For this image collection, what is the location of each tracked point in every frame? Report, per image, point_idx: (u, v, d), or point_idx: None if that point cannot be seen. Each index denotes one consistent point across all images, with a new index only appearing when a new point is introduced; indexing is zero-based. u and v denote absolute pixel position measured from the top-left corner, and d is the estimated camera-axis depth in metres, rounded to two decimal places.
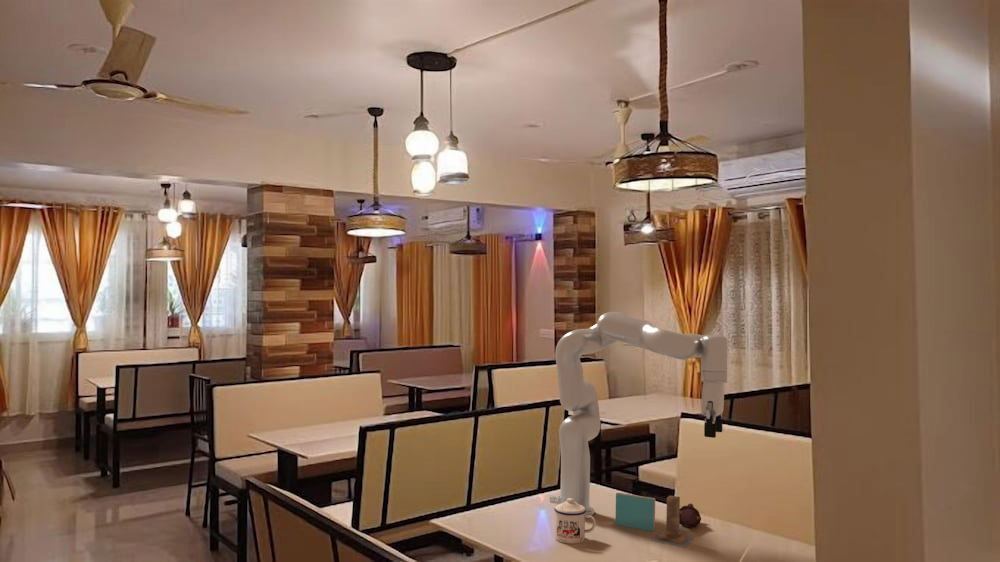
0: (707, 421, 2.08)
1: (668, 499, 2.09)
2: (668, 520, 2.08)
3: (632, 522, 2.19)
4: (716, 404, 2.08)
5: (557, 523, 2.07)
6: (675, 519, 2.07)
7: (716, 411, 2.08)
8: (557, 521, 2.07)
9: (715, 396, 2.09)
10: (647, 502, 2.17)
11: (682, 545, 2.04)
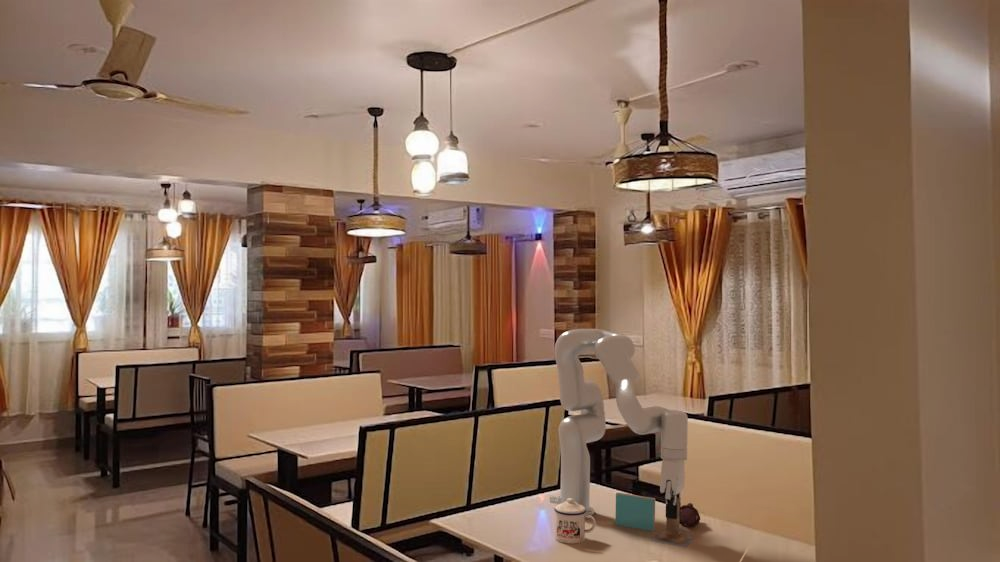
0: (668, 503, 2.06)
1: None
2: (668, 520, 2.08)
3: (632, 522, 2.19)
4: (675, 483, 2.04)
5: (557, 523, 2.07)
6: (675, 519, 2.07)
7: (675, 490, 2.04)
8: (557, 521, 2.07)
9: (674, 475, 2.05)
10: (647, 502, 2.17)
11: (682, 545, 2.04)
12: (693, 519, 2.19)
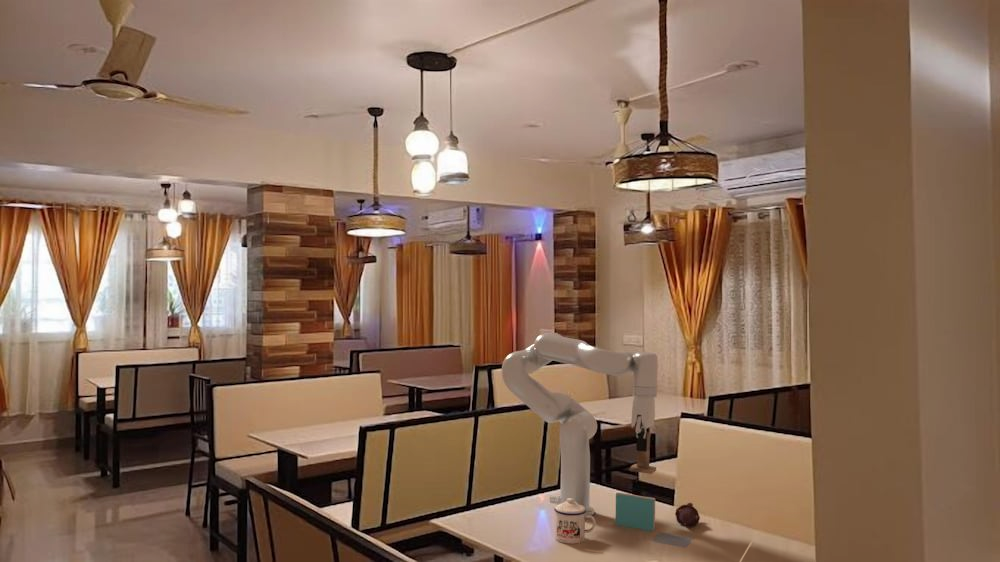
0: (638, 436, 2.24)
1: None
2: (639, 452, 2.26)
3: (632, 522, 2.19)
4: (644, 418, 2.22)
5: (557, 523, 2.07)
6: None
7: (644, 424, 2.22)
8: (557, 521, 2.07)
9: (644, 410, 2.22)
10: (647, 502, 2.17)
11: (682, 545, 2.04)
12: (692, 519, 2.20)
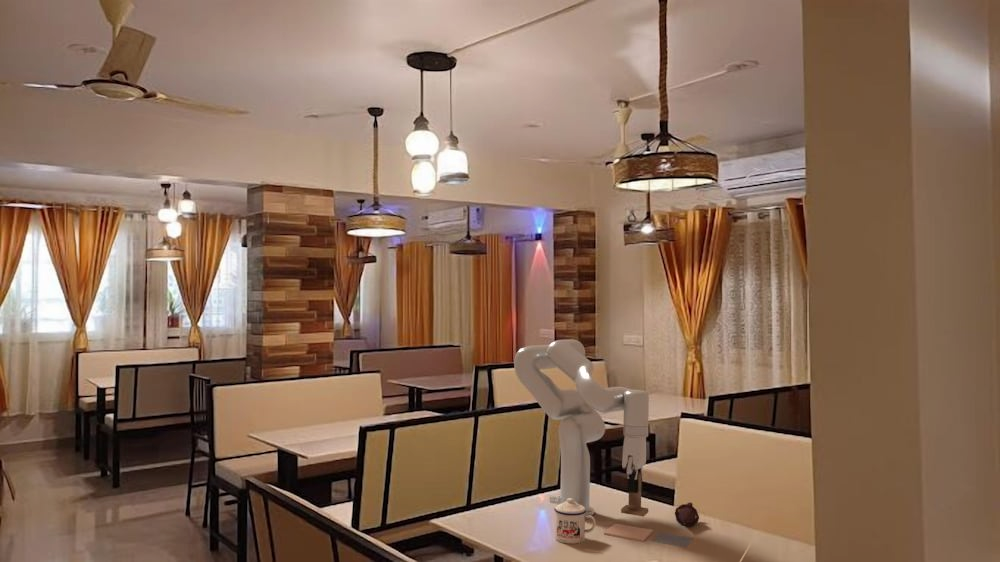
0: (630, 477, 2.17)
1: None
2: (630, 494, 2.19)
3: None
4: (636, 458, 2.15)
5: (557, 523, 2.07)
6: (637, 493, 2.18)
7: (636, 465, 2.15)
8: (557, 521, 2.07)
9: (635, 451, 2.15)
10: None
11: (682, 545, 2.04)
12: (692, 518, 2.20)
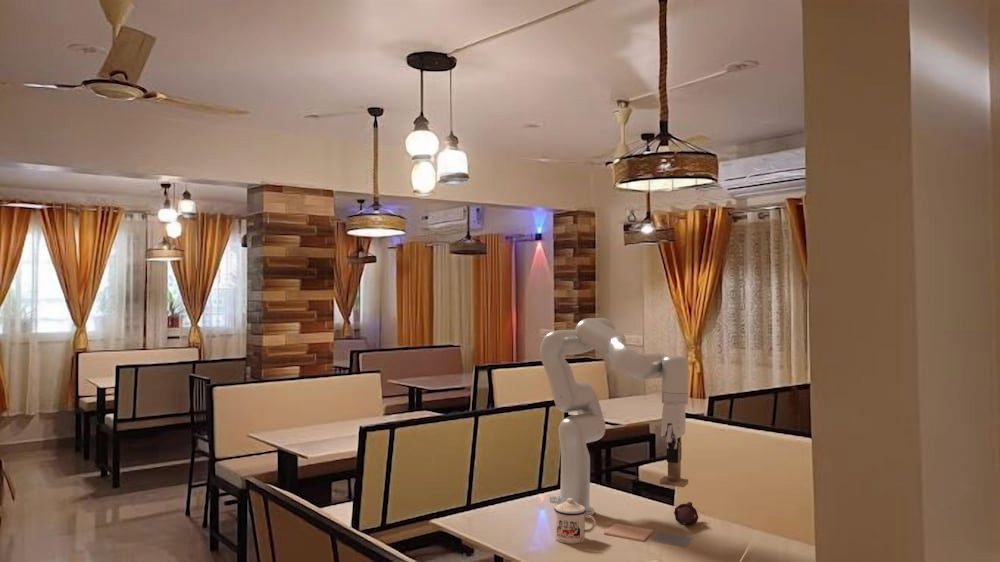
0: (669, 446, 2.07)
1: None
2: (669, 464, 2.09)
3: None
4: (676, 426, 2.05)
5: (557, 523, 2.07)
6: (676, 463, 2.08)
7: (676, 434, 2.05)
8: (557, 521, 2.07)
9: (675, 418, 2.05)
10: None
11: (682, 545, 2.04)
12: (691, 518, 2.21)
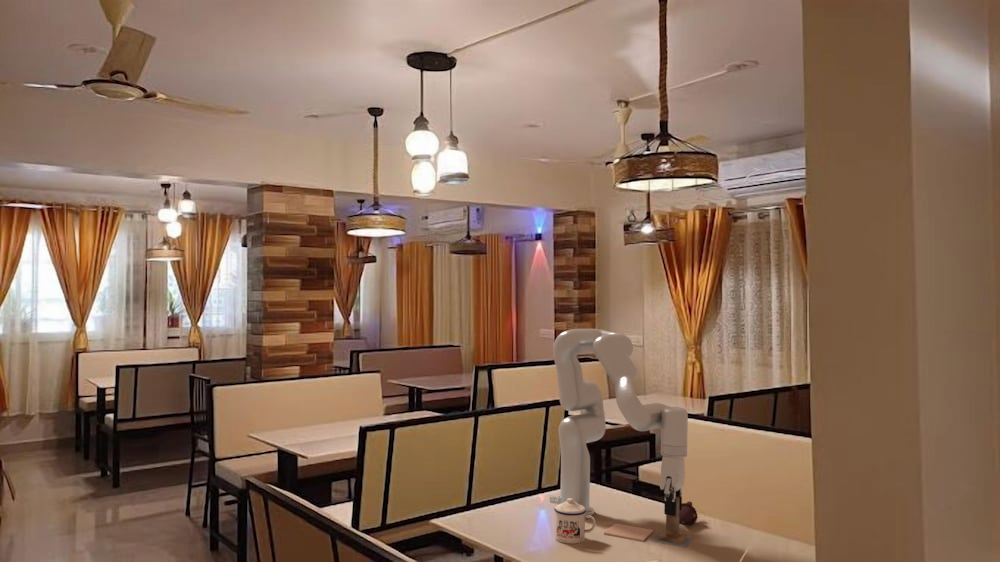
0: (667, 499, 2.05)
1: None
2: (668, 520, 2.08)
3: None
4: (675, 480, 2.04)
5: (557, 523, 2.07)
6: (675, 519, 2.07)
7: (675, 487, 2.04)
8: (557, 521, 2.07)
9: (674, 471, 2.05)
10: None
11: (682, 545, 2.04)
12: (690, 517, 2.21)
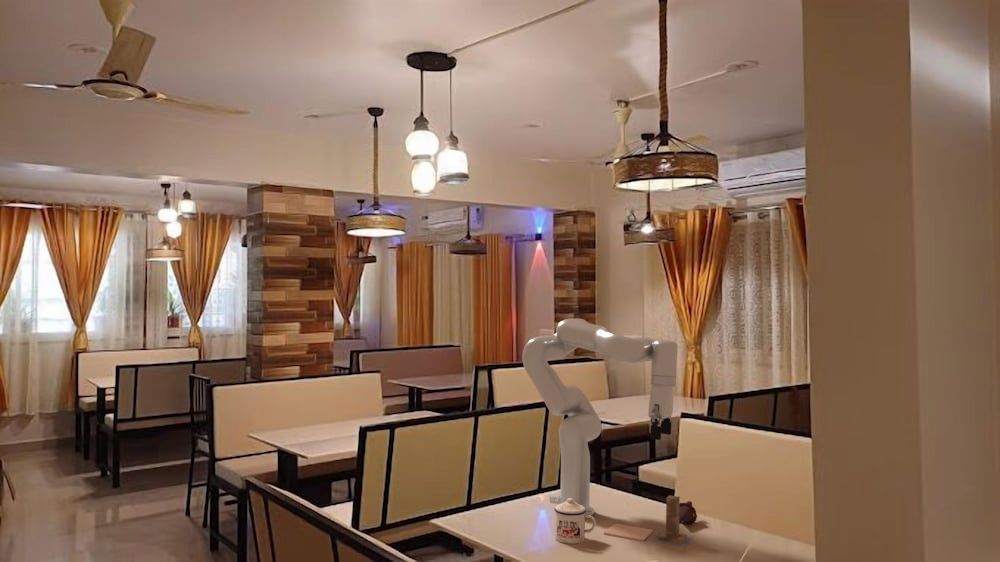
0: (652, 424, 2.14)
1: (668, 499, 2.09)
2: (668, 520, 2.08)
3: None
4: (662, 407, 2.14)
5: (557, 523, 2.07)
6: (675, 519, 2.07)
7: (662, 414, 2.14)
8: (557, 521, 2.07)
9: (662, 400, 2.14)
10: None
11: (682, 545, 2.04)
12: (689, 517, 2.21)
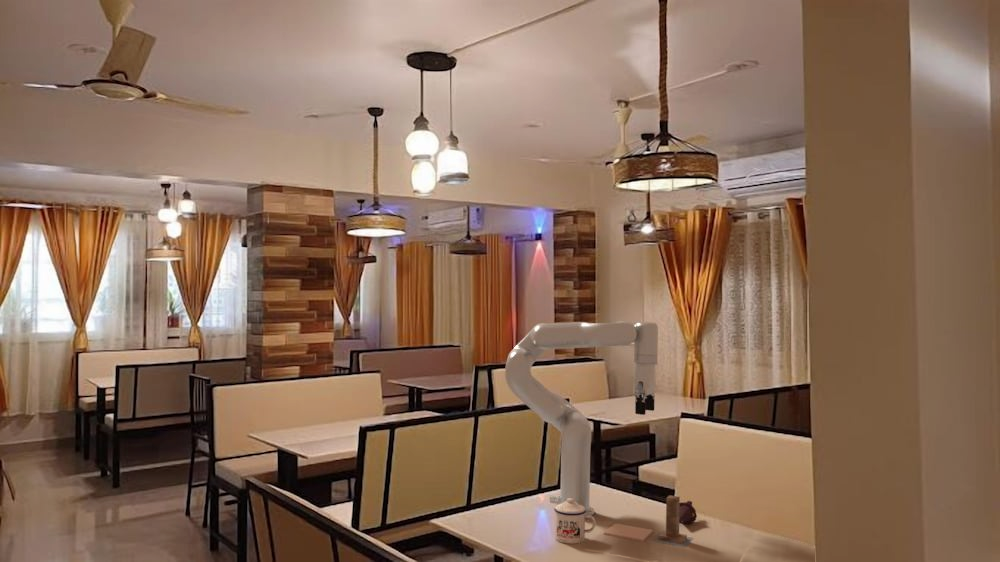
0: (637, 399, 2.29)
1: (668, 499, 2.09)
2: (668, 520, 2.08)
3: None
4: (646, 384, 2.30)
5: (557, 523, 2.07)
6: (675, 519, 2.07)
7: (646, 391, 2.30)
8: (557, 521, 2.07)
9: (645, 377, 2.30)
10: None
11: (682, 545, 2.04)
12: (689, 516, 2.22)
